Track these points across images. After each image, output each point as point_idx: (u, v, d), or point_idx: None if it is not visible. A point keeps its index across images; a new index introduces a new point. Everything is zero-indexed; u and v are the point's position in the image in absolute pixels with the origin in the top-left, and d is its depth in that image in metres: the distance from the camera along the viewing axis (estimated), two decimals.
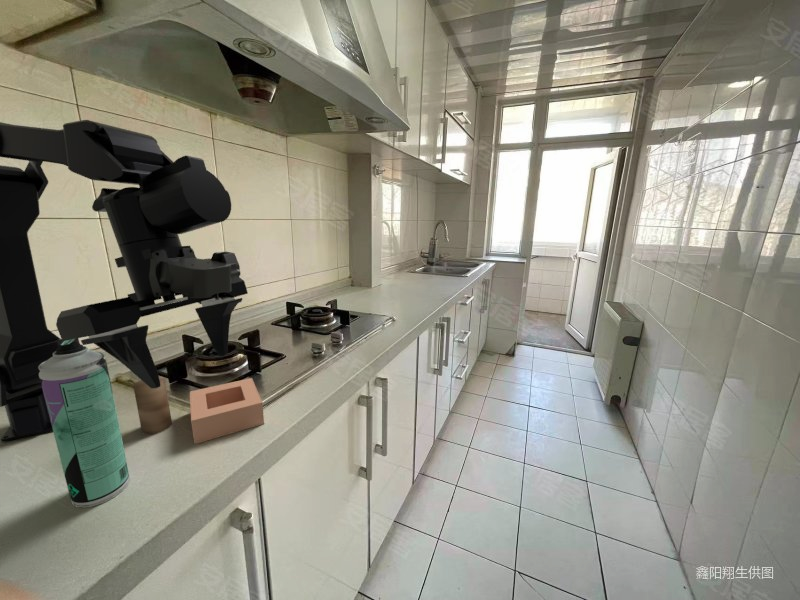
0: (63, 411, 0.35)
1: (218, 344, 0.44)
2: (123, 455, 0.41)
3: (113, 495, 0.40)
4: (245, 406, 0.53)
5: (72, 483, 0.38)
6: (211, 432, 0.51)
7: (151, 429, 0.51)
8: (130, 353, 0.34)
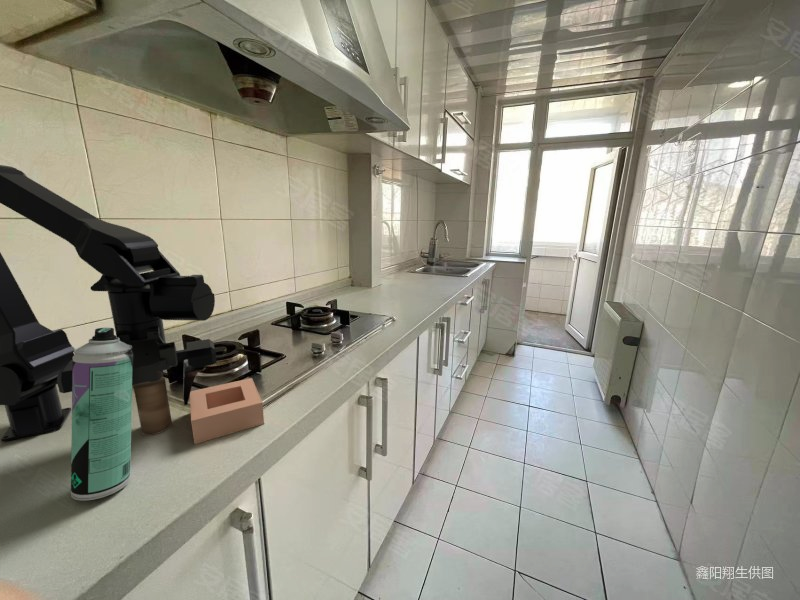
0: (86, 394, 0.37)
1: (183, 395, 0.55)
2: (129, 451, 0.42)
3: (112, 491, 0.40)
4: (245, 406, 0.53)
5: (77, 472, 0.38)
6: (211, 432, 0.51)
7: (151, 429, 0.51)
8: None
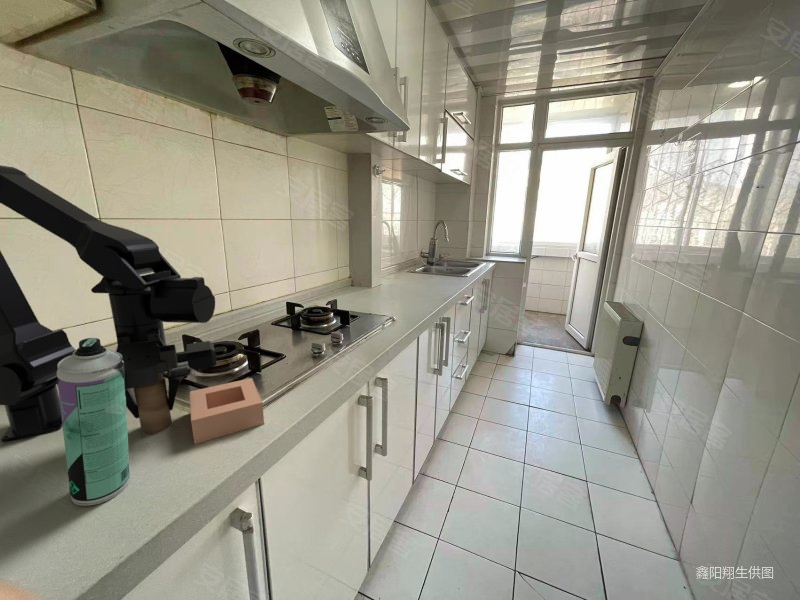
0: (75, 412, 0.35)
1: (168, 400, 0.54)
2: (127, 457, 0.41)
3: (112, 496, 0.40)
4: (245, 406, 0.53)
5: (74, 481, 0.37)
6: (211, 432, 0.51)
7: (151, 429, 0.51)
8: None
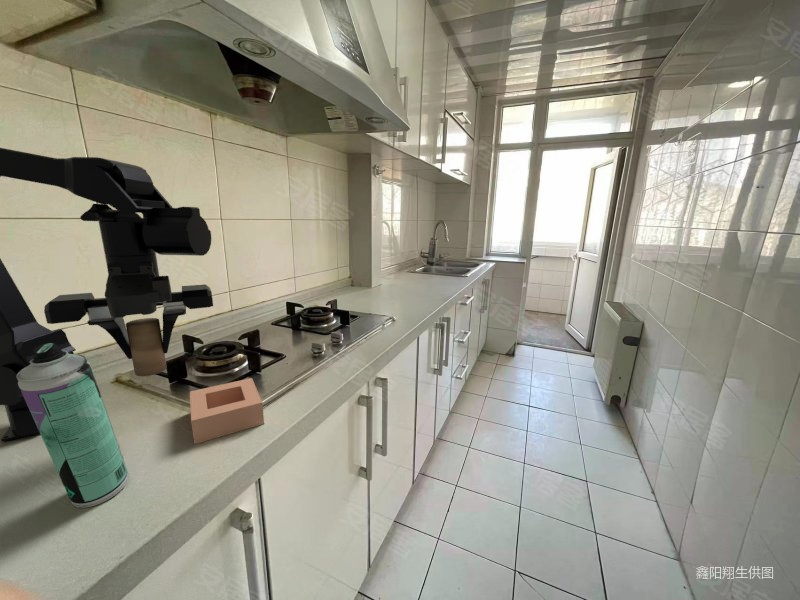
0: (46, 420, 0.34)
1: None
2: (118, 456, 0.40)
3: (110, 496, 0.40)
4: (245, 406, 0.53)
5: (67, 486, 0.37)
6: (211, 432, 0.51)
7: (144, 370, 0.49)
8: None
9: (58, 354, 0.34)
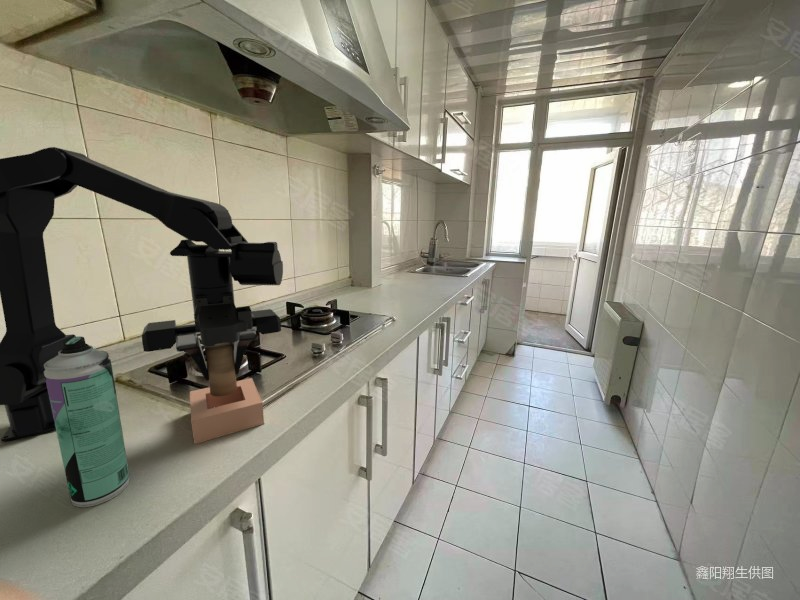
0: (63, 410, 0.35)
1: None
2: (123, 457, 0.41)
3: (110, 497, 0.40)
4: (245, 406, 0.53)
5: (71, 482, 0.38)
6: (211, 432, 0.51)
7: (220, 391, 0.53)
8: None
9: (84, 347, 0.37)
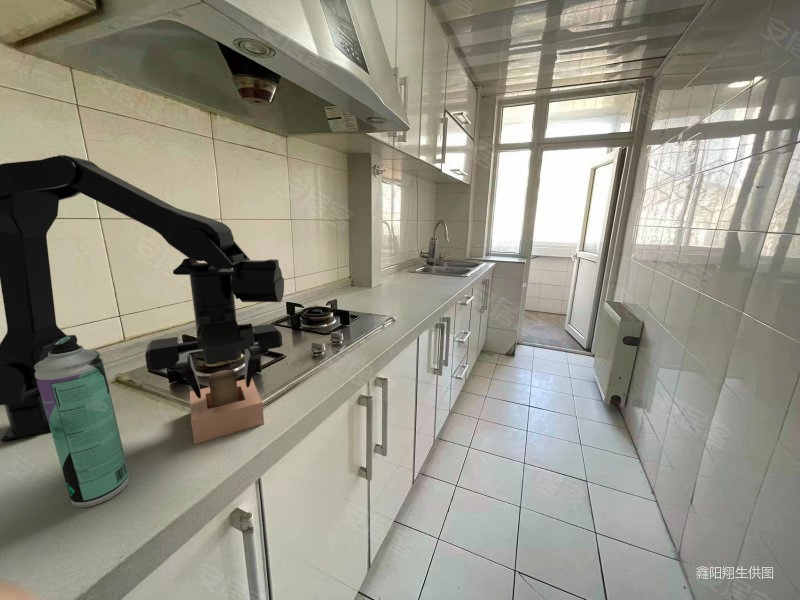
0: (55, 410, 0.35)
1: (245, 377, 0.57)
2: (120, 456, 0.41)
3: (109, 496, 0.39)
4: (245, 406, 0.53)
5: (68, 482, 0.38)
6: (211, 432, 0.51)
7: None
8: None
9: (74, 347, 0.36)
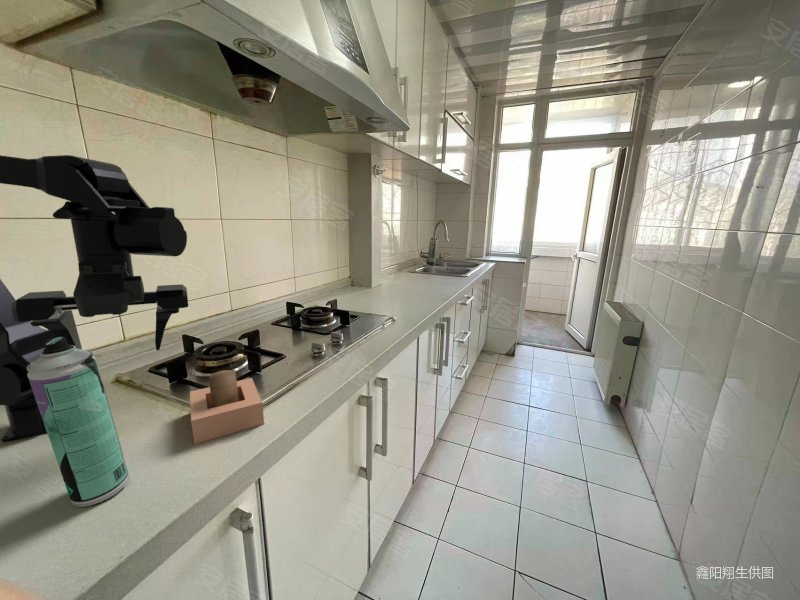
0: (49, 411, 0.35)
1: None
2: (118, 456, 0.41)
3: (107, 496, 0.39)
4: (245, 406, 0.53)
5: (67, 482, 0.38)
6: (211, 432, 0.51)
7: None
8: None
9: (65, 347, 0.36)
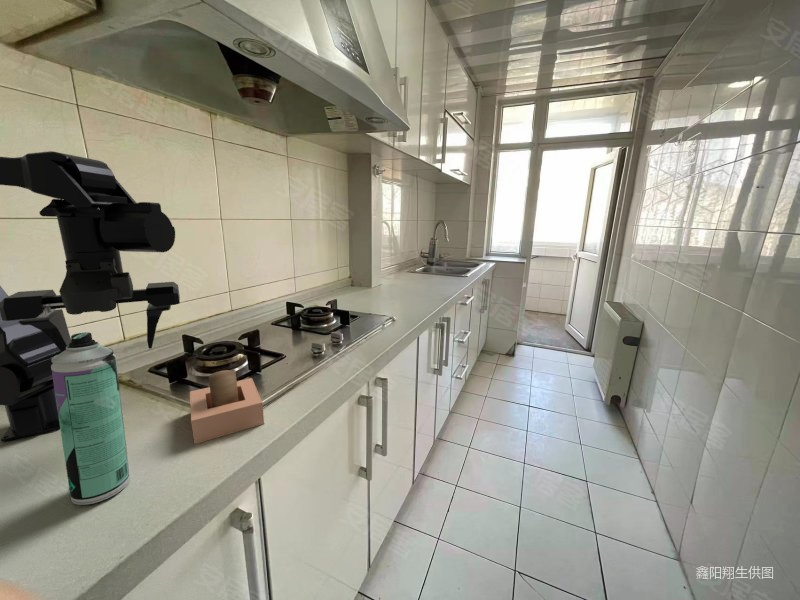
0: (65, 403, 0.36)
1: None
2: (123, 456, 0.41)
3: (107, 496, 0.39)
4: (245, 406, 0.53)
5: (70, 478, 0.38)
6: (211, 432, 0.51)
7: None
8: None
9: (90, 342, 0.38)
